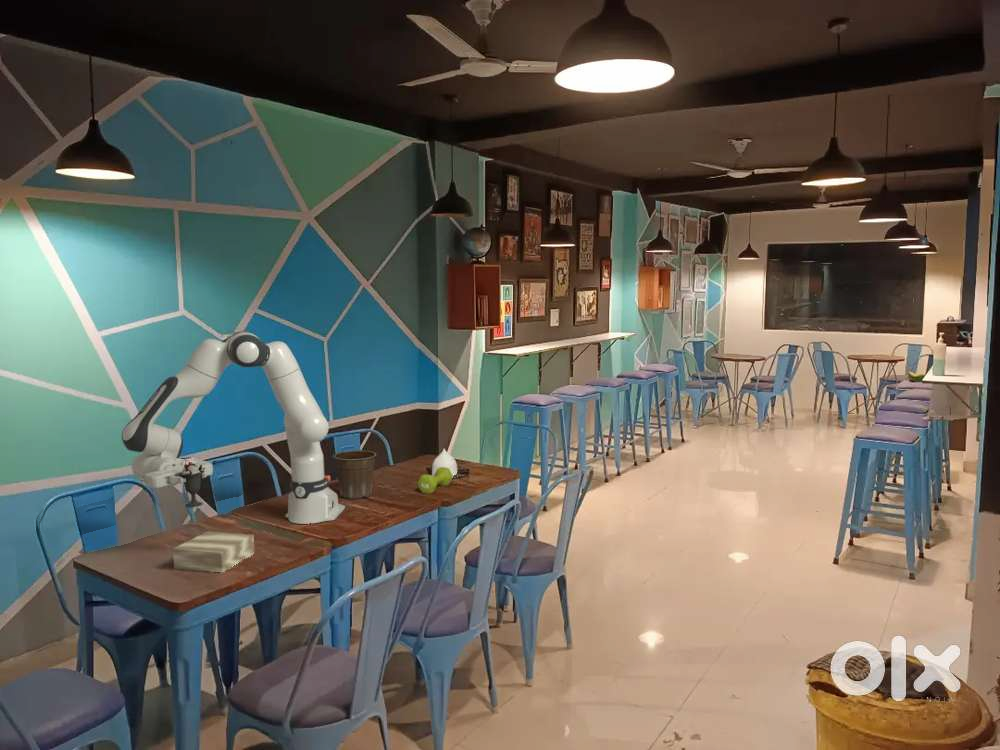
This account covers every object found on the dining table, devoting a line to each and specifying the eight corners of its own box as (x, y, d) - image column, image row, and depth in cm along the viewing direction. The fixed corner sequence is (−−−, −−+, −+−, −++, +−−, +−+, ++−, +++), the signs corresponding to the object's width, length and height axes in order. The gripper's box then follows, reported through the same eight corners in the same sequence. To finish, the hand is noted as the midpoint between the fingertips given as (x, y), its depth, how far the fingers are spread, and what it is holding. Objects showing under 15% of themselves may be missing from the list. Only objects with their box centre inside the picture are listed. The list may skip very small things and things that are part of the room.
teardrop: (439, 471, 328) (438, 444, 326) (462, 473, 323) (461, 446, 322) (427, 477, 318) (426, 449, 316) (450, 479, 313) (450, 451, 312)
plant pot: (378, 488, 301) (377, 449, 299) (376, 499, 285) (375, 458, 283) (337, 490, 299) (335, 451, 297) (333, 502, 283) (331, 460, 281)
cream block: (208, 550, 232) (207, 531, 231) (254, 553, 228) (253, 534, 227) (174, 568, 217) (172, 548, 216) (222, 573, 213) (221, 552, 212)
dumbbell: (433, 495, 290) (433, 477, 290) (416, 493, 294) (415, 475, 293) (454, 485, 305) (454, 467, 304) (437, 483, 308) (437, 466, 308)
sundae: (177, 508, 226) (173, 459, 224) (190, 501, 232) (186, 454, 231) (198, 508, 225) (194, 459, 223) (209, 502, 231) (206, 454, 230)
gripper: (135, 469, 226) (160, 475, 218) (196, 455, 243) (222, 460, 235) (137, 489, 227) (162, 496, 219) (198, 474, 244) (223, 480, 236)
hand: (194, 477), depth 227 cm, fingers closed on sundae, 5 cm apart
